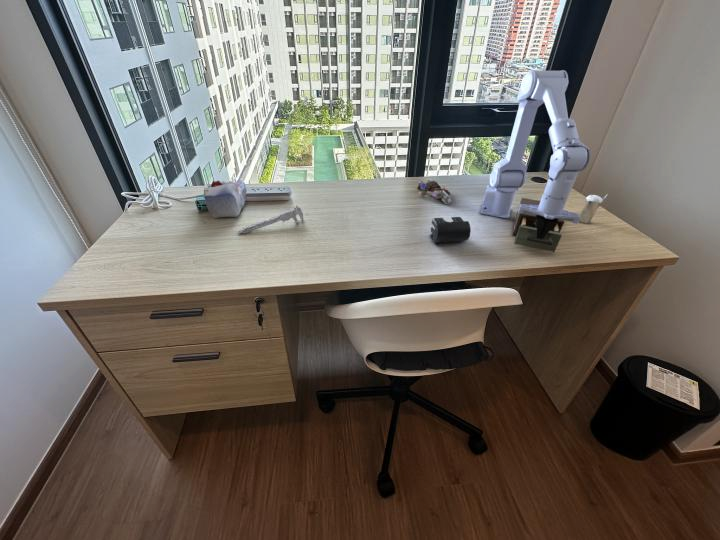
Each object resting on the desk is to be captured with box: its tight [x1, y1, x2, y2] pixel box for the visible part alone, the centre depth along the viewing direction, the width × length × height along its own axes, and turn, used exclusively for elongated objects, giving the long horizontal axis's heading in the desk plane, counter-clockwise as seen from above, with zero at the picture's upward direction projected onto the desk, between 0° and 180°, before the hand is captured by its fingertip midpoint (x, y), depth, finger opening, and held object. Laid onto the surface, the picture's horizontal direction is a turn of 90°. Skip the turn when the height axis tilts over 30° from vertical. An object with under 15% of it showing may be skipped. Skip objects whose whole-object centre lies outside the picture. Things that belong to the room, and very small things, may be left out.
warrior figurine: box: [416, 179, 452, 205], centre depth 125 cm, size 12×5×18 cm
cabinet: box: [512, 197, 565, 237], centre depth 104 cm, size 13×12×8 cm
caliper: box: [238, 204, 304, 234], centre depth 104 cm, size 20×1×6 cm, turn 113°
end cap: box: [429, 216, 471, 244], centre depth 99 cm, size 10×7×7 cm
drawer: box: [513, 216, 563, 253], centre depth 97 cm, size 16×11×6 cm
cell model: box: [203, 180, 247, 219], centre depth 113 cm, size 13×11×20 cm
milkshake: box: [579, 193, 608, 224], centre depth 109 cm, size 5×5×10 cm
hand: (538, 240), depth 93 cm, fingers closed
